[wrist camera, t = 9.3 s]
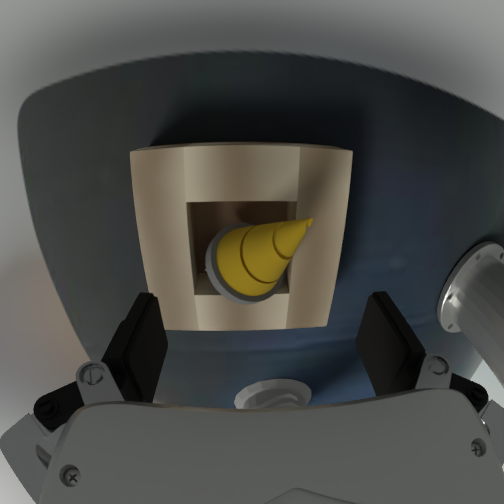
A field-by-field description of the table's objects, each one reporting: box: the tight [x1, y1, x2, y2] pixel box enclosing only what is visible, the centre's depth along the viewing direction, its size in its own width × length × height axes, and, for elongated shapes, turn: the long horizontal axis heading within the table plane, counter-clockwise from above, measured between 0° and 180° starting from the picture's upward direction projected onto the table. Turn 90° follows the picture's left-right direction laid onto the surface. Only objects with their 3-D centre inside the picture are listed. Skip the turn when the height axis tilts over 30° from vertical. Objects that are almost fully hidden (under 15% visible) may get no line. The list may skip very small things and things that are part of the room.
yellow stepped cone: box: [205, 218, 313, 305], centre depth 17 cm, size 5×5×10 cm
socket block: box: [130, 142, 353, 331], centre depth 19 cm, size 13×13×4 cm
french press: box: [234, 379, 312, 409], centre depth 20 cm, size 10×12×25 cm
